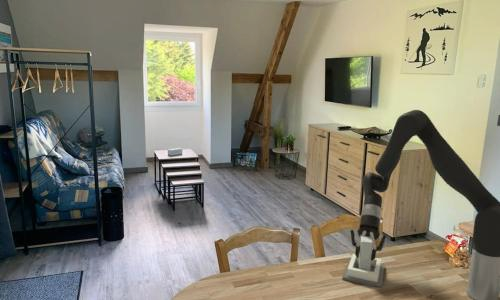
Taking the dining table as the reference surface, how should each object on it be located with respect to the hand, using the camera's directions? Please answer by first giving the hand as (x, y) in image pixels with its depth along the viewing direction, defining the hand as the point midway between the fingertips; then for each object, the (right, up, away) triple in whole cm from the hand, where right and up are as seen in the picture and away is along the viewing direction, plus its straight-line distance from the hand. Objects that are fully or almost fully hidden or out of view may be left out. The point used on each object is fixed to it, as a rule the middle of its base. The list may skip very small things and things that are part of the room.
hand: (364, 258), depth 147 cm
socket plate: (+1, -7, +3) cm, 7 cm away
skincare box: (+1, -5, +4) cm, 6 cm away
